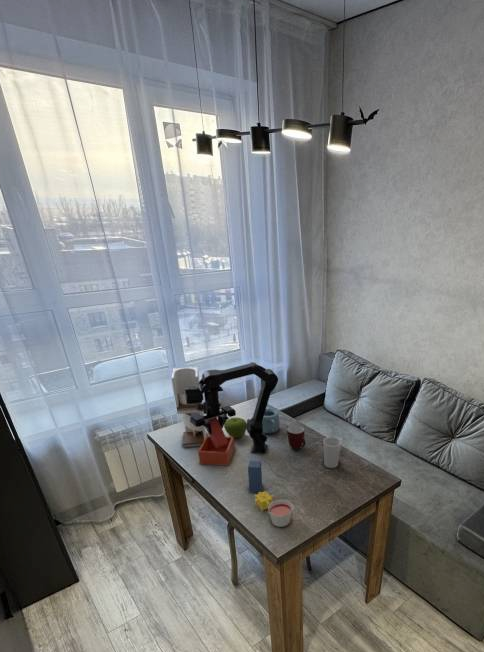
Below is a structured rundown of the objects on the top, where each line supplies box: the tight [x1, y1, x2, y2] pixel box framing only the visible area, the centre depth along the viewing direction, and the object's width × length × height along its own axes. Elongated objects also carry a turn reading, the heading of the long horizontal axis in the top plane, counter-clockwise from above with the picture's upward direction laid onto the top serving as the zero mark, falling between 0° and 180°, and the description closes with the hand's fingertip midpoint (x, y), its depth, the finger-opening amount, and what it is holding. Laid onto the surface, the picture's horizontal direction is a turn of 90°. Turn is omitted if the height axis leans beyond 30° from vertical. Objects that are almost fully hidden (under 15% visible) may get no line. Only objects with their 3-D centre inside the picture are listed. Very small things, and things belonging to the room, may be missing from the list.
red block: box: [209, 417, 228, 448], centre depth 173 cm, size 4×4×12 cm
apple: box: [223, 416, 247, 439], centre depth 195 cm, size 11×10×10 cm
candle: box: [267, 499, 294, 528], centre depth 146 cm, size 9×9×6 cm
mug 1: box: [262, 408, 281, 435], centre depth 200 cm, size 15×11×10 cm
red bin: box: [197, 435, 236, 466], centre depth 180 cm, size 14×13×6 cm
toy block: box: [254, 490, 275, 511], centre depth 152 cm, size 8×8×6 cm
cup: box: [322, 436, 342, 469], centre depth 177 cm, size 8×8×12 cm
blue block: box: [247, 460, 263, 494], centre depth 159 cm, size 4×4×12 cm
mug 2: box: [286, 424, 307, 451], centre depth 188 cm, size 10×8×10 cm
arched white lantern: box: [171, 366, 208, 448], centre depth 184 cm, size 11×11×35 cm
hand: (214, 433), depth 174 cm, fingers closed on red block, 4 cm apart
